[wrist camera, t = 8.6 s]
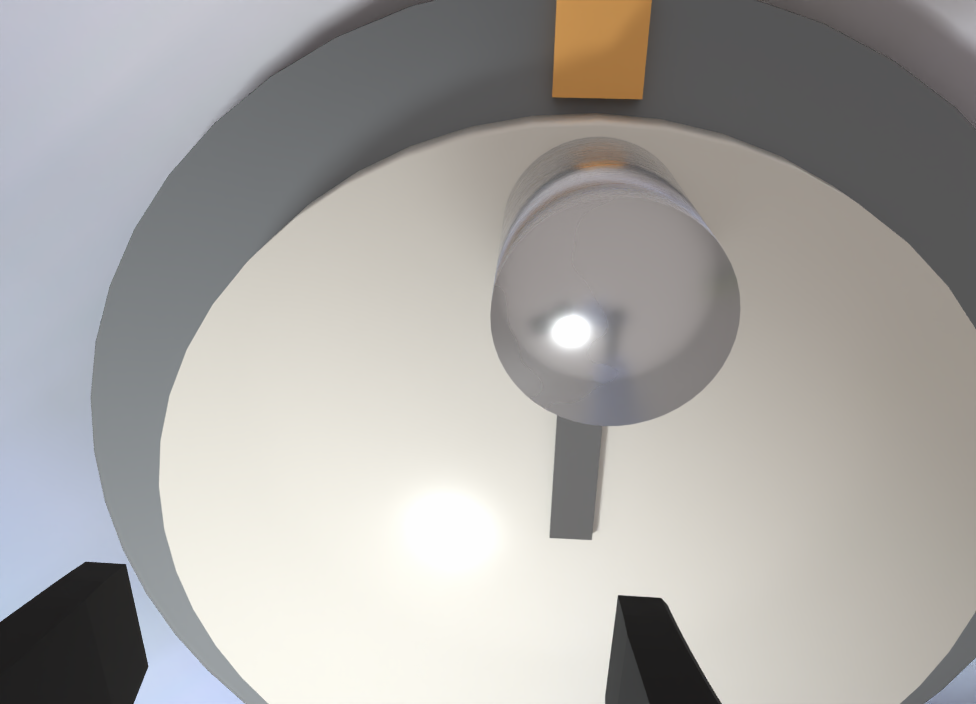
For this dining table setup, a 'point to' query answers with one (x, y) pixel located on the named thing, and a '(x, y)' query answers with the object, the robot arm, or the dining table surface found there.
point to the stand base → (488, 99)
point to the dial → (577, 429)
